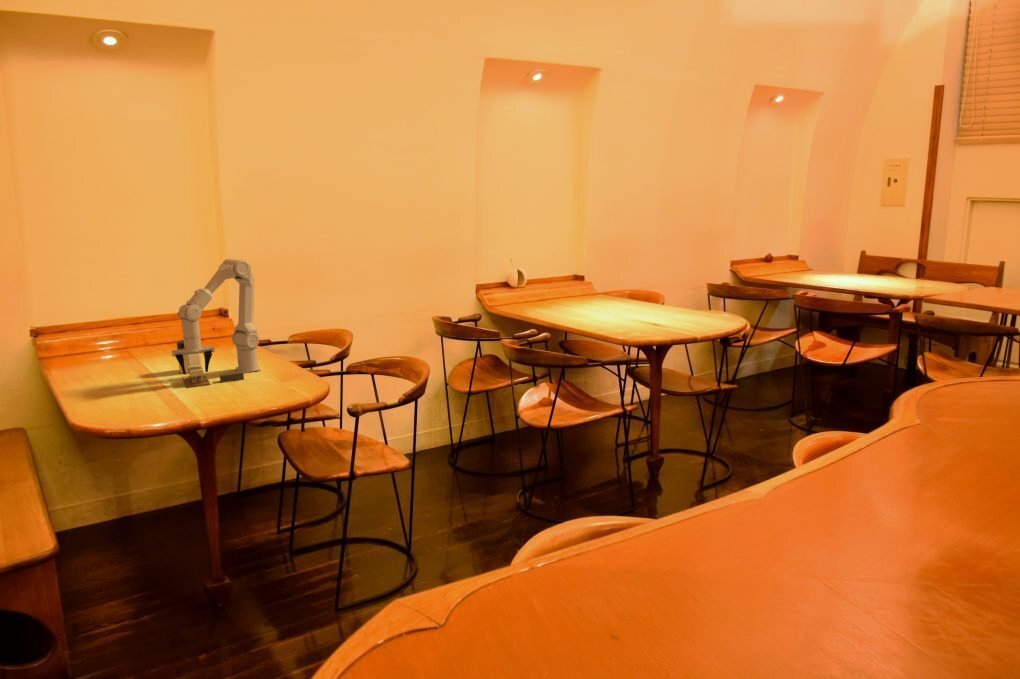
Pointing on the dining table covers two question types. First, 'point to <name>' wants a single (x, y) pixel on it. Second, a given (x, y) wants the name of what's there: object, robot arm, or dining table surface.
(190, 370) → the shelf board
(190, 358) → the jar
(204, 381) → the peg base
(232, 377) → the block
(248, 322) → the robot arm
